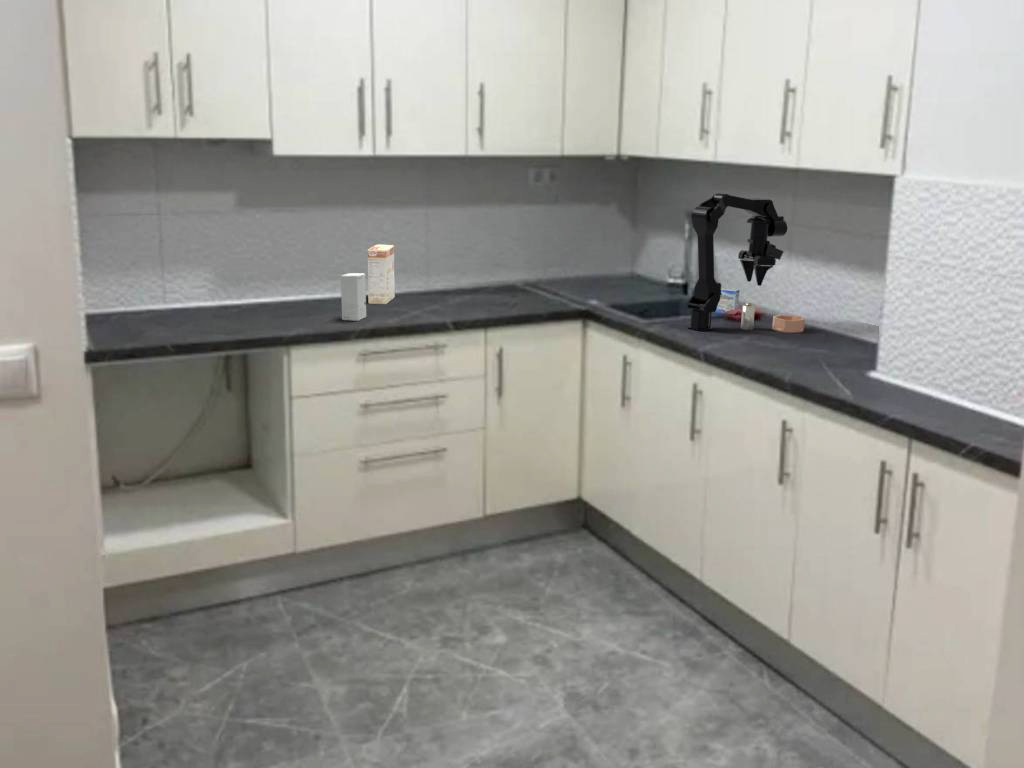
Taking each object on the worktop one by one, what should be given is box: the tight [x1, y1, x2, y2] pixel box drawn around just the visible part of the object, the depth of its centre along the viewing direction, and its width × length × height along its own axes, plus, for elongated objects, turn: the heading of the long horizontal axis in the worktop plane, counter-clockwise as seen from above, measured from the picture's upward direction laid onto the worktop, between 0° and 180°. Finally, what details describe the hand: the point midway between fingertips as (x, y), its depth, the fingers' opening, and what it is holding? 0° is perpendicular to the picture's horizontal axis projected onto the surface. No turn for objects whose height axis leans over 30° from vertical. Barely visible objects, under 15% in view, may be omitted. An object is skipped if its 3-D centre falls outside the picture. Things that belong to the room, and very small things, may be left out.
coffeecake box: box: [367, 243, 396, 305], centre depth 376 cm, size 15×7×20 cm, turn 175°
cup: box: [771, 314, 806, 334], centre depth 342 cm, size 10×10×4 cm
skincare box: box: [340, 272, 367, 322], centre depth 342 cm, size 8×6×15 cm
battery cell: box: [740, 302, 756, 331], centre depth 342 cm, size 4×4×8 cm
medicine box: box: [712, 287, 740, 315], centre depth 368 cm, size 8×4×9 cm, turn 62°
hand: (754, 283), depth 349 cm, fingers open, 9 cm apart
